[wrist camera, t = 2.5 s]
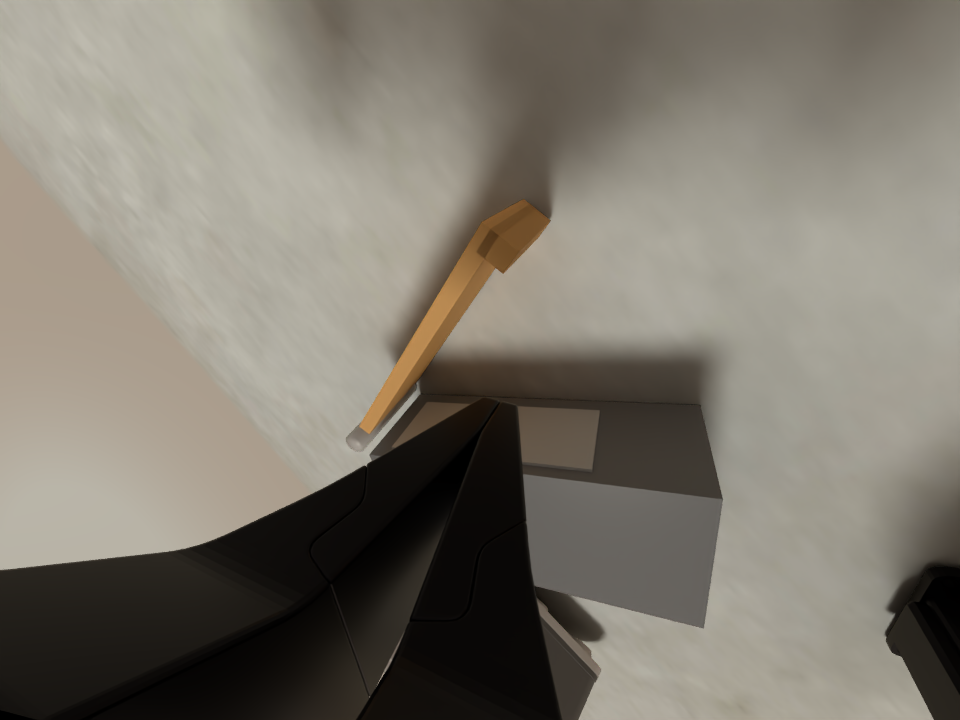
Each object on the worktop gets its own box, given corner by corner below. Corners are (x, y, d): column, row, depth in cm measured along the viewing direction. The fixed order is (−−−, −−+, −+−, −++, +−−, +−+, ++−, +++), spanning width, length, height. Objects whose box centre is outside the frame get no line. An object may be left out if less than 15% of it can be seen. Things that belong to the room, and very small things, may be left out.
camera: (472, 516, 23) (342, 688, 18) (621, 675, 25) (543, 871, 20) (425, 502, 31) (326, 619, 26) (542, 624, 33) (471, 754, 28)
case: (702, 383, 15) (726, 473, 11) (689, 524, 19) (703, 628, 15) (398, 377, 21) (342, 434, 17) (437, 485, 25) (398, 551, 21)
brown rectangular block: (427, 387, 20) (381, 443, 16) (409, 373, 20) (358, 426, 16) (550, 220, 14) (519, 251, 10) (523, 198, 14) (481, 221, 10)
